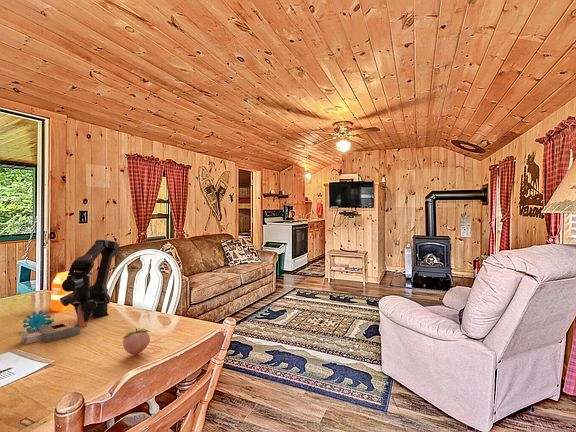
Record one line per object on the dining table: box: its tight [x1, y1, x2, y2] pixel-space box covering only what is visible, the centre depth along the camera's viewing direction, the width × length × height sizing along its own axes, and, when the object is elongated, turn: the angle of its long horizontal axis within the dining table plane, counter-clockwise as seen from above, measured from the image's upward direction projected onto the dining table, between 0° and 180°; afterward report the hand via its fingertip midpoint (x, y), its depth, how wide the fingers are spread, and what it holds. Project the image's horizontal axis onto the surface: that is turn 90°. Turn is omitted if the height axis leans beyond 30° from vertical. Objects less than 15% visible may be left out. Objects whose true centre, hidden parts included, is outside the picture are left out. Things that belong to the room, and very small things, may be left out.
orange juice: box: [50, 270, 75, 313], centre depth 169 cm, size 8×9×20 cm
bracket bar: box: [21, 328, 43, 346], centre depth 128 cm, size 6×4×5 cm, turn 141°
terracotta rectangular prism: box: [76, 307, 88, 329], centre depth 145 cm, size 3×3×9 cm
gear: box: [22, 310, 55, 333], centre depth 142 cm, size 11×6×10 cm
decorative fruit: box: [122, 328, 151, 356], centre depth 119 cm, size 9×8×10 cm
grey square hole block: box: [36, 319, 80, 343], centre depth 136 cm, size 12×12×4 cm
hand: (82, 319), depth 145 cm, fingers open, 8 cm apart
